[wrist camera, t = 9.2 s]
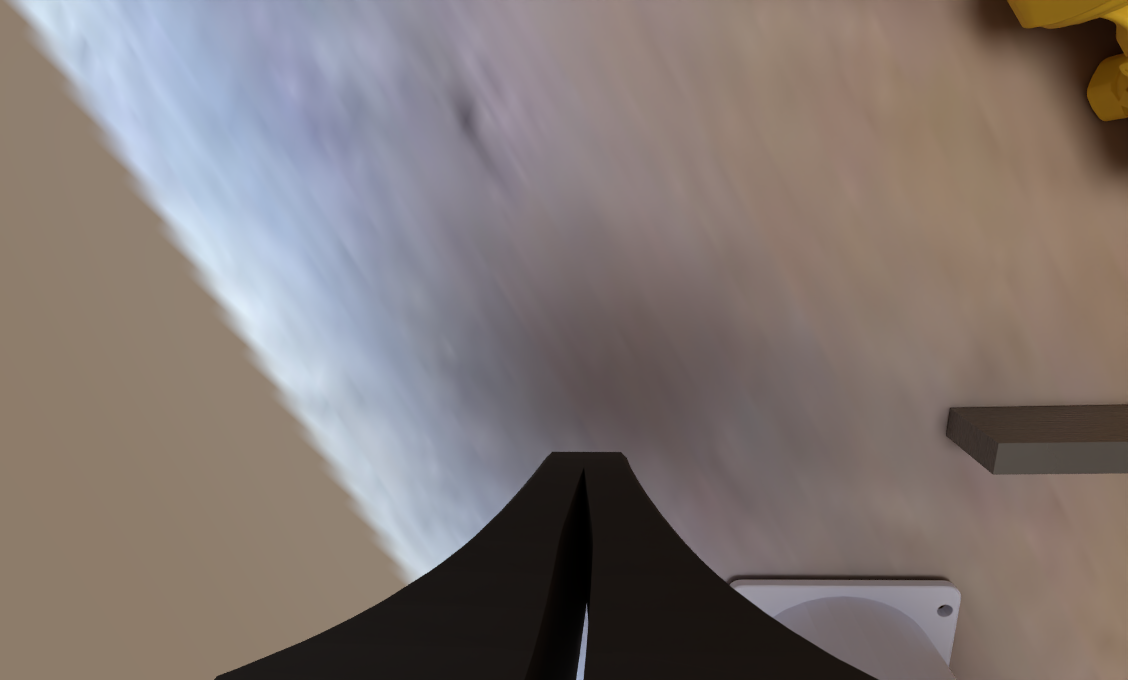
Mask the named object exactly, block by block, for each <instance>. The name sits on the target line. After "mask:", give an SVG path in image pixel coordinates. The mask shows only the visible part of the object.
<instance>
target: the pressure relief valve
mask: <svg viewBox="0 0 1128 680" xmlns="http://www.w3.org/2000/svg"><path fill="white" fill-rule="evenodd" d="M1007 1H1008V3H1009V5H1010V7H1011V8H1012V10H1013V12H1014V13H1015V15H1016V17H1017V19H1018V20H1019V22H1020V24H1021V25H1022V27H1024V28H1034V27H1039V26H1041V27H1043V28H1048V29H1053V28H1061V27H1065V26H1069V25H1074V24H1080V23H1083V22H1086V21H1090V20H1093V19H1096V18H1099V17H1101V18H1104V19H1108V20H1110V21H1112V22H1114V23H1115V24H1116V39H1117V42H1118V43H1119V45H1120V47H1121V49H1122V50H1123V52H1124V53H1122V54H1119V55H1115V56H1112V57H1108V58H1106V59H1104V60H1103V61H1102V62H1101V63H1100V64H1099V66H1098V67H1097V69H1096V71H1095V73H1094V74H1093V76H1092V78H1091V81H1090V83H1089V86H1088V89H1087V98H1088V100H1089V102H1090V105H1091V107H1092V109H1093V110H1094V112H1095V113H1096V114H1097V116H1098V117H1099V118H1100V119H1101V120H1103V121H1111V120H1117V119H1123V118H1128V0H1007Z"/></svg>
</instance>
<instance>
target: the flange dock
mask: <svg viewBox="0 0 1128 680" xmlns="http://www.w3.org/2000/svg"><path fill="white" fill-rule="evenodd" d="M946 436H947V437H948V438H949V439H951V440H952V441H953V442H954V443H955V444H957V445H958V446H959V447H960V448H961V449H963V450H964V451H965V452H966V453H968V454H969V455H970V456H971V457H972V458H974V459H975V460H976V461H977V462H978V463H980V464H981V465H982V466H983V467H985V468H986V469H987V470H988V471H989V472H991V473H992V474H1099V473H1128V405H1095V406H1039V407H982V408H950V414H949V421H948V428H947V434H946Z"/></svg>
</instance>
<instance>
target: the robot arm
mask: <svg viewBox="0 0 1128 680" xmlns="http://www.w3.org/2000/svg"><path fill="white" fill-rule="evenodd" d="M960 601H961V593H960V592H959V590H958V589H957V588H956V587H955V585H954V584H953V583H951V582H949V581H944V580H736V581H734V582H732V583H731V584H730V585H729V584H727V583H726V582H725V581H724V580H723V579H721V578H720V577H719V576H718V575H717V574H716V573H715V572H713V571H712V570H711V569H710V568H709V567H708V566H707V565H706V564H705V563H704V562H703V561H702V560H701V559H700V558H699V557H698V556H697V555H696V554H695V553H694V552H693V551H692V550H691V549H690V548H689V547H688V545H687V544H686V543H685V542H684V541H683V540H682V539H681V538H680V536H679V535H678V534H677V533H676V532H675V531H674V530H673V528H672V527H671V526H670V525H669V523H668V522H667V521H666V520H665V518H664V517H663V516H662V515H661V513H660V512H659V511H658V509H657V508H656V506H655V505H654V504H653V502H652V501H651V500H650V498H649V497H648V495H647V494H646V492H645V491H644V489H643V488H642V486H641V485H640V483H639V481H638V480H637V478H636V476H635V475H634V473H633V471H632V469H631V467H630V465H629V463H628V460H627V458H626V457H625V456H624V455H623V454H622V453H621V452H552V453H551V454H550V455H549V456H547V457H546V459H545V460H544V461H543V463H542V464H541V465H540V466H539V468H538V469H537V470H536V472H535V473H534V474H533V475H532V477H531V478H530V479H529V480H528V481H527V483H526V484H525V485H524V486H523V487H522V488H521V490H520V491H519V492H518V493H517V494H516V495H515V496H514V497H513V498H512V500H511V501H510V502H509V503H508V504H507V505H506V506H505V507H504V508H503V509H502V510H501V511H500V512H499V514H497V515H496V516H495V517H494V518H493V519H492V520H491V521H490V522H489V523H488V524H487V525H486V526H485V527H484V528H483V529H482V530H481V531H480V532H479V533H478V534H477V535H476V536H475V537H473V538H472V539H471V540H470V541H469V542H468V543H467V544H465V545H464V546H463V547H462V548H461V549H459V550H458V551H457V552H455V553H454V554H453V555H451V556H450V557H449V558H447V559H446V560H445V561H444V562H442V563H441V564H440V565H438V566H437V567H435V568H434V569H433V570H431V571H430V572H428V573H426V574H425V575H423V576H422V577H420V578H419V579H417V580H415V581H414V582H412V583H411V584H409V585H408V586H406V587H404V588H403V589H401V590H400V591H398V592H397V593H395V594H394V595H392V596H390V597H389V598H387V599H385V600H384V601H382V602H380V603H379V604H377V605H375V606H373V607H372V608H369V609H367V610H366V611H364V612H362V613H360V614H358V615H356V616H354V617H353V618H351V619H349V620H347V621H345V622H343V623H341V624H339V625H337V626H335V627H332V628H331V629H328V630H326V631H324V632H322V633H321V634H318V635H316V636H314V637H312V638H309V639H307V640H305V641H303V642H301V643H298V644H296V645H294V646H291V647H289V648H286V649H284V650H281V651H279V652H276V653H274V654H272V655H269V656H267V657H265V658H262V659H260V660H257V661H255V662H252V663H250V664H247V665H245V666H242V667H240V668H238V669H235V670H233V671H230V672H227V673H224V674H222V675H219V676H217V677H216V678H215V679H214V680H576V676H577V669H578V662H579V655H580V648H581V641H582V633H583V626H584V619H585V612H586V604H587V611H588V635H587V648H586V660H585V670H584V680H957V679H956V677H955V676H954V674H953V673H952V671H951V670H950V668H949V664H950V658H951V653H952V647H953V641H954V635H955V630H956V624H957V618H958V613H959V607H960ZM942 605H945V606H944V607H943V608H940V609H938V608H939V607H940V606H942Z"/></svg>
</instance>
